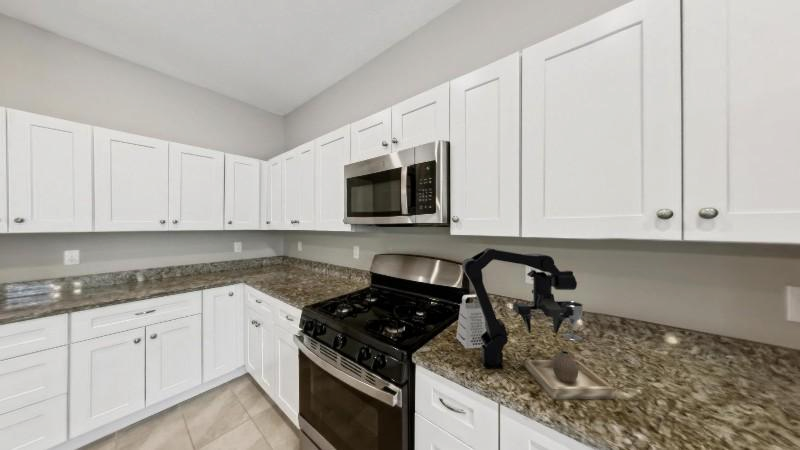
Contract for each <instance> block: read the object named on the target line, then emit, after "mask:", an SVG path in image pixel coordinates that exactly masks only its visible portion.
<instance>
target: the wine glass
mask: <svg viewBox="0 0 800 450" xmlns="http://www.w3.org/2000/svg"><path fill="white" fill-rule="evenodd" d="M563 301H564V302H565V303H566V304H567V305H568V306H570V307H572V308H573V311H574V315H573V316H570V317H569V318H566V319H565V320H567V321H568V322H569V324H570V333H563V334H562V336H563V337H564V338H565V339H567V340H570V341H582V340H583V337H581V336H580V335H577V334H574V326H575V323H577V322H578V321H579V320H580V319H581V318H582V316H583V310H584V309H583V307H584V305H583V304H582V303H580V302H576V301H573V300H563Z"/></svg>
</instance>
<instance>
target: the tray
mask: <svg viewBox="0 0 800 450" xmlns="http://www.w3.org/2000/svg"><path fill="white" fill-rule="evenodd" d="M553 360H554V359H525V369H526V371H527V372H528V373H529V374H530V376H532V377H533V378H534V380H535V381H536V382H537V384H538V385H539V386H540V387H541V388H542V389H543V390H544V391H545V393H547V395H548V396H549V397H550V398H551V399H552V400H615V399H616V393H615V392H616V388H614V387H613V386H612V385H611V384H610V383H608V382H607V381H606V380H604V379H603V378H602V377H600V376H599V375H598V374H596V373H595V372H594V371H593V370H591V369H590V368H589V367H588V366H586V365H585V364H583V363H582V362H581V361H579V360H578V359H573V360H574V361H575V362H576V364H577V367H578V377H577V379H576V380H575V381H574V382H572V383H565V382H562V381H560V380H559V379H558V378H557V377H556V375H555V374H554V371H553Z"/></svg>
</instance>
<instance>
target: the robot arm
mask: <svg viewBox="0 0 800 450" xmlns="http://www.w3.org/2000/svg"><path fill="white" fill-rule="evenodd" d="M492 261H501V262H507V263H512V264H518V265H523V266H528V267H530V268H534V269H535V270H534V269H531V270H530V271H529V272H528V273H526V276H528V277H530V278H532V279H533V285H532V286H533V287H532V288H533V289H531V294H533V298H532V299H533V300H532V301H531V304H532V305H528V304H526V303H525V302H514V303H513V304H512V310H513V311H514V312H515V313H517V315H520V316H521V318H522V321H523V323H524V325H525V328H526V330H527V332H528V333H529V334H531V329H532V328H531V319H532V315H531V313H532V312H542V313H543V314H544V316H545V317H547V318H551V317H552V327H553V332H554V333H555V334H558V332H559V330H560V328H561V325H562V323H564V321H565V320H567V319H566V318H569V317H570V316H573V315H574V311H573V308H572V307H570V306H568V305H567V304H566V303H565V302H564V301H565V300H563V301H561V300H560V301H557V300H556V301H555V296H554V293H552V290H553V289H552V288H554V289H555V290H557V291H559V290H560V291H575V290H576V288H577V286H578V282H577V280H576V277H575V276H574V272H573V271H572V270H559V268H558V266H556V264H555V260H554V258H553V257H552V256H550V255H546V254H543V253H518V252H513V251H506V250H502V249H501V250H500V249H494V248H492V247H487V248H485V249H484V250H482V251H480V252H479V253H477V254H475V255H474V256H472V257H470V258H464V260H463V261H462V263H461V268H462V271H463V272H464V274H465V276H466V277H467V279H468V280H469V282H470V283H471V286H472V288H473V291H474V295H475V294H476V297H475V298H476V299H477V303H478V302H479V305H480V307H481V310H482V313H483V315H484V318H485V327H486V332H485V333H484V334H482V336H481V338H480V339H481V340H482V342H483V343H482V342H481V343H482V344H484V345H482V344H481V345H482V347H481V357H480V358H479V359H480V360H479V361H480V362H481V363H482V365H483V367H484V368H485V370H486V369H487V370H488V369H491V370H492V369H494V370H495V369H497V370H498V369H500V370H501V369H504V368H505V367H504V365H503V364H504V353H503V350H504V347H505V345H506V344H507V343H508V341H509V337H508V336H509V335H510V334H509V333H508V331H507V330H506V329H507V328H506V325H505V323H504V322H503V321H502V320H501V318H497V317H496V313H495V312H494V308H493V306H492V303H491V301H490V297H489V296H488V292H487V290H486V287H485V284H484V281H483V280H484V278H483V272H482V271H483V269H485V268H486V267H487V266H488V265H489V264H490V263H491V262H492ZM536 270H538V271H536ZM481 340H480V341H481Z"/></svg>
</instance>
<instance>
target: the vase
mask: <svg viewBox="0 0 800 450" xmlns="http://www.w3.org/2000/svg"><path fill="white" fill-rule="evenodd" d="M552 360H553V371H554V374H555V375H556V377H557V378H558V379H559V380H560V381H562V382H565V383H572V382H574V381H575V380H576V379H577V377H578V367H577V364H576V362H575V361H574V360H575V359H574V358H573V357H572V356H571V354H570V352H569V351H567V350H560V352H559V353H558V354H556V356H555V357H554V359H552Z"/></svg>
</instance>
